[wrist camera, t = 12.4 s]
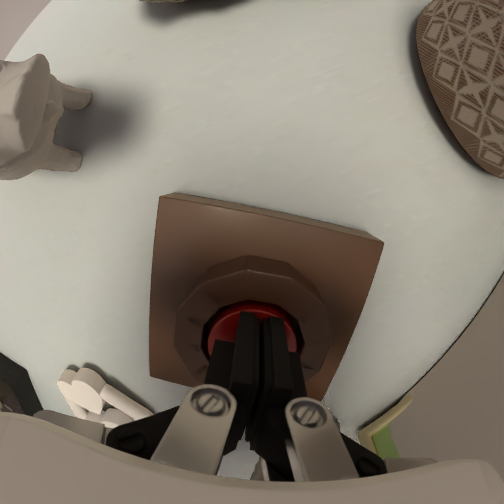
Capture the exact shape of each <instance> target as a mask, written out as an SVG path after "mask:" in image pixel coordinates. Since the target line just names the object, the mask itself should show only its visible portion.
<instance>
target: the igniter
mask: <svg viewBox="0 0 504 504" xmlns="http://www.w3.org/2000/svg"><path fill="white" fill-rule="evenodd" d="M383 246H384V242H382V241H381V240H379V239H377V238H376V237H374V236H372V235H371V234H369V233H367V232H364V231H360V230H356V229H352V228H348V227H343V226H339V225H335V224H331V223H327V222H322V221H318V220H314V219H309V218H305V217H300V216H296V215H291V214H286V213H282V212H277V211H272V210H267V209H262V208H257V207H252V206H247V205H242V204H237V203H232V202H227V201H221V200H216V199H210V198H204V197H199V196H193V195H187V194H181V193H171V194H167V195H163V196H160V197H159V204H158V212H157V220H156V229H155V238H154V249H153V261H152V274H151V291H150V317H149V367H150V376H151V377H154V378H158V379H162V380H165V381H169V382H173V383H177V384H181V385H185V386H189V387H195V386H198V385H202V384H204V382H205V378H206V373H207V369H208V365H209V361H210V357H211V356H210V354H209V351H208V337H209V333H210V330H211V327H212V323H213V320H214V316H215V314H216V312H217V311H218V310H219V309H220V308H221V307H223V306H227V305H230V304H234V303H237V302H241V301H244V300H248V299H249V300H254V301H259V302H265V303H270V304H276V305H279V306H280V307H281V308H282V309H284V310H285V311H286V312H287V313H289V314H290V315H291V317H292V322H293V326H294V331H295V336H296V341H297V349H296V352H297V353H299V356H300V360H301V365H302V370H303V376H304V381H305V386H306V391H307V397H310V398H313V399H316V400H318V401H320V402H321V401H322V399H323V397H324V395H325V393H326V391H327V389H328V387H329V385H330V383H331V381H332V379H333V377H334V375H335V373H336V370H337V368H338V366H339V364H340V362H341V360H342V357H343V355H344V353H345V351H346V348H347V346H348V344H349V341H350V339H351V337H352V334H353V332H354V329H355V327H356V324H357V322H358V319H359V317H360V314H361V312H362V309H363V306H364V304H365V301H366V298H367V295H368V293H369V290H370V287H371V284H372V281H373V278H374V275H375V272H376V269H377V266H378V263H379V259H380V256H381V253H382V249H383Z"/></svg>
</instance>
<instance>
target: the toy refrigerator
mask: <svg viewBox="0 0 504 504" xmlns="http://www.w3.org/2000/svg"><path fill="white" fill-rule="evenodd" d="M412 400H413V398H412V397H411V395H409V396H407V397H406V398H404V399H403V400H402V401H401V402H400V403H398V404H397V405H396V406H394V407H393V408H392V409H390V410H389V411H388V412H386V413H385V414H384V415H382V416H381V417H380V418H378V419H377V420H375V421H374V422H372V423H371V424H370V425H368V426H367V427H365V428H364V429H362V430H361V431H360V432H359V433H358V438H359V441H360V445H361V446H363V447H365V448H366V449H368V450H370V451H371V452H373V453H375V454H377V455H378V456H379V457H380V458H382V460H384V459H385V458H386V457H395V458H401V457H400V455H399V453H398V451H397V449H396V447H395V445H394V443H393V441H392V439H391V437H390V430H389V423H390V422H391V421H392V420H393V419H394V418H395V417H397V416H398V415H399V414H400V413H401V412H402V411H403V410H404V409H406V408H407V406H408V405H409V404H410V403H411V402H412Z"/></svg>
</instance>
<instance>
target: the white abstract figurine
mask: <svg viewBox="0 0 504 504" xmlns="http://www.w3.org/2000/svg"><path fill="white" fill-rule="evenodd" d="M56 384H57V387H58V388H59V390H60V391H61V392H62V394H63V396H64V398H65V399H66V401H67V403H68V404H69V406H70V408H71V409H72V411H73V412H74V414H75V415H76V417H77V418H80V419H84V420H88V421H93V422H97V423H102V424H105V427H108V428H115V427H117V426H119V425H122V424H126V423H129V422H132V421H136V420H139V419H142V418H145V417H148V416H151V415H154V414H153V413H152V412H151V411H150V410H148V409H147V408H145V407H143V406H142V405H140V404H138V403H137V402H135V401H133V400H132V399H130V398H129V397H127V396H126V395H124V394H123V393H121V392H119V391H118V390H116V389H115V388H114V387H112V386H110V385H108V384H106V382H105V381H104V380H103V379H102V377H101V376H100V375H99V374H97V373H96V372H95V371H93V370H91V369H88V368H80V369H79V371H78V372H75V371H73V370H69V369H67V370H64V372H63V373H62V375H61V377H60V378H59V380H58V382H57V383H56ZM105 402H108V403H109V404H111V405H112V406H114V407H116V408H117V409H119V410H117V409H112V408H109V409H107V410H106V412H104V411H102V409H103V406H104V404H105ZM87 410H89V412H88V411H87ZM131 417H132V418H134V420H133V419H132V418H131Z"/></svg>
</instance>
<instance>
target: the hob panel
mask: <svg viewBox="0 0 504 504" xmlns="http://www.w3.org/2000/svg"><path fill="white" fill-rule="evenodd" d="M0 401H1V403H2V405H3V407H2V409H1V410H0V412H11V413H18V414H23V415H27V416H31V417H32V416H33V415H34V414H35V413H37V412H38V411H42V410H43V409H42V407H41V405H40V403H39V400H38V398H37V396H36V393H35V391H34V389H33V386H32V384H31V381H30V379H29V376H28V373H27V371H26V370H25V369H24V368H22V367H21V366H19V365H17V364H16V363H14V362H13V361H11V360H10V359H8V358H7V357H5V356H4V355H3V354H1V353H0Z"/></svg>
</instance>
